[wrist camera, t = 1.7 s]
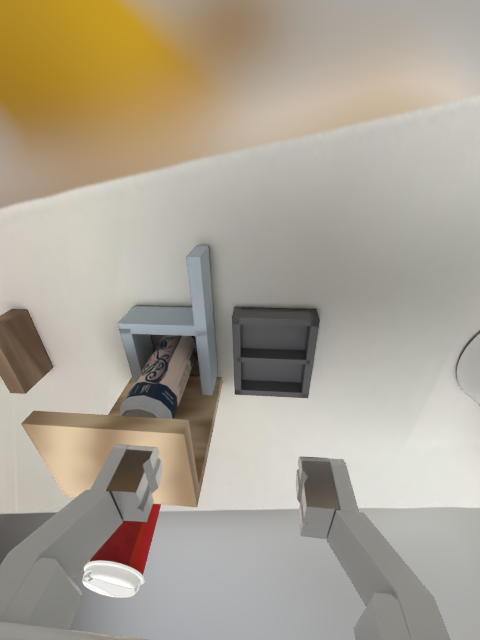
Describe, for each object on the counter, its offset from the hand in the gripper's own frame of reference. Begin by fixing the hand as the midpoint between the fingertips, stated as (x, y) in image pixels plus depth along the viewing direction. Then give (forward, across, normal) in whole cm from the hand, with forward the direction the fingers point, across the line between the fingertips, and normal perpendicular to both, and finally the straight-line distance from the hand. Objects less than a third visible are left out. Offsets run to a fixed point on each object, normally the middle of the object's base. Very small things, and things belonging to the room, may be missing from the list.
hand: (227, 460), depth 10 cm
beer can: (+21, +9, +10) cm, 25 cm away
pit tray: (+21, -2, +10) cm, 24 cm away
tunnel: (+21, +10, +11) cm, 26 cm away
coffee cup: (+21, +18, +39) cm, 48 cm away
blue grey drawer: (+21, +9, +6) cm, 23 cm away
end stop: (+21, +28, +10) cm, 37 cm away
